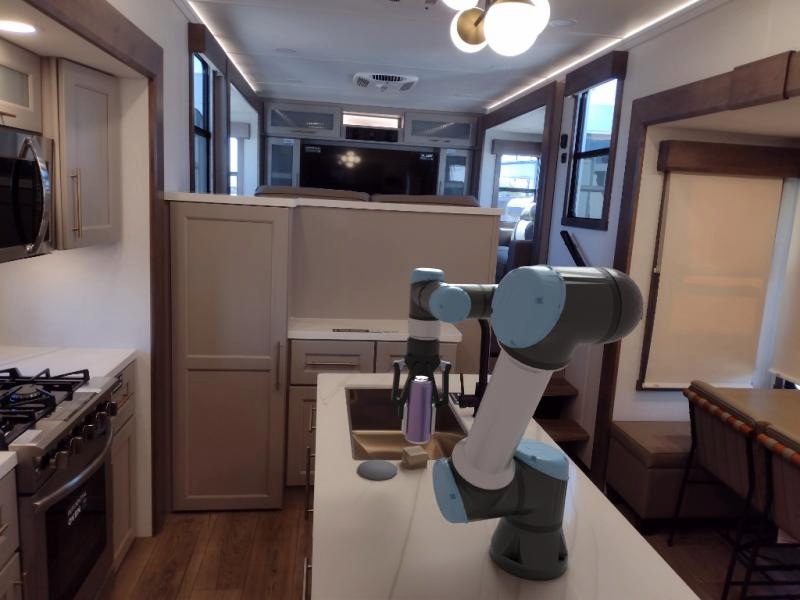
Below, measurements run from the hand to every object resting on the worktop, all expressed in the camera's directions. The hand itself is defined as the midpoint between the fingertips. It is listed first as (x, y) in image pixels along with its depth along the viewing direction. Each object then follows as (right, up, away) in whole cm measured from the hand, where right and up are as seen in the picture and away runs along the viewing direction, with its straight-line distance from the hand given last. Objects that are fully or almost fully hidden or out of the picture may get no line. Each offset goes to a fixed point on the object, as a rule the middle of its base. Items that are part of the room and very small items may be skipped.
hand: (417, 431), depth 136 cm
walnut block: (0, -13, +17) cm, 21 cm away
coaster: (-10, -13, +12) cm, 20 cm away
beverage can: (0, -2, 0) cm, 2 cm away
